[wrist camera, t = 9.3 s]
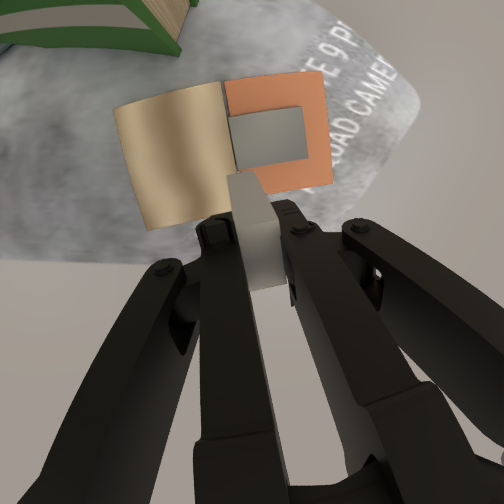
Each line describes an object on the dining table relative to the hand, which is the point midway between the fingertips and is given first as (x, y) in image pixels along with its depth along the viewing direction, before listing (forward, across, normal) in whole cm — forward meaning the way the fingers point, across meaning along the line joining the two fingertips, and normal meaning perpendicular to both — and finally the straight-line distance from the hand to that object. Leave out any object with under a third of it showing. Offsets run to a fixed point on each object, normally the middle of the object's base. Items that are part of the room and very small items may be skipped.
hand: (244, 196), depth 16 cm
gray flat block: (+18, +4, 0) cm, 19 cm away
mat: (+19, +6, 0) cm, 20 cm away
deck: (+19, -5, 0) cm, 19 cm away
